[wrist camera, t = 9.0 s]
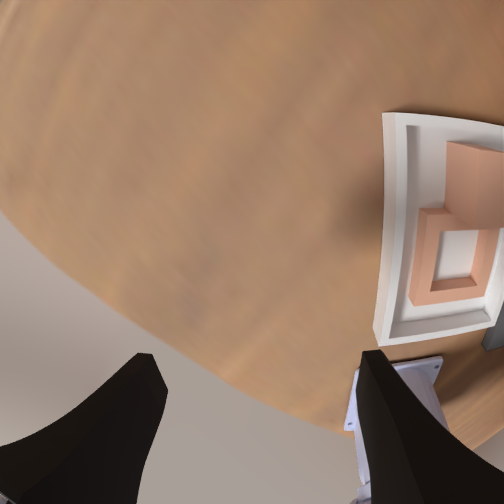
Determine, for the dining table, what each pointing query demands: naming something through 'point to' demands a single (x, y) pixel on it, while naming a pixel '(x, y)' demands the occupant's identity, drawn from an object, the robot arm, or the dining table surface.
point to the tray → (450, 242)
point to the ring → (461, 223)
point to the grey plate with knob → (495, 333)
